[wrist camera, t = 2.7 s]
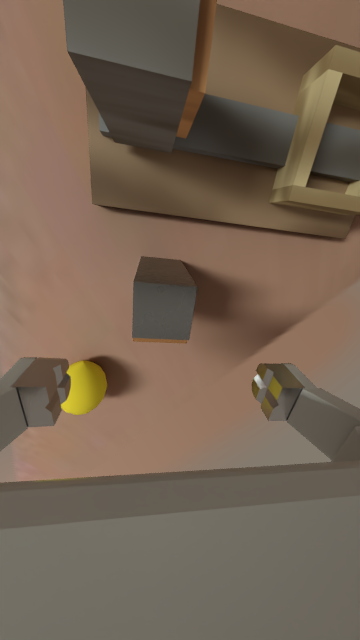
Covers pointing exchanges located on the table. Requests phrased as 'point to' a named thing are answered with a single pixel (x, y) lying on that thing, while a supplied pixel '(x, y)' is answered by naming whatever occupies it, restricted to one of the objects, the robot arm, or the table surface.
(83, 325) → the table surface
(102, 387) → the lemon
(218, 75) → the rail
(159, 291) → the grey metal slab
